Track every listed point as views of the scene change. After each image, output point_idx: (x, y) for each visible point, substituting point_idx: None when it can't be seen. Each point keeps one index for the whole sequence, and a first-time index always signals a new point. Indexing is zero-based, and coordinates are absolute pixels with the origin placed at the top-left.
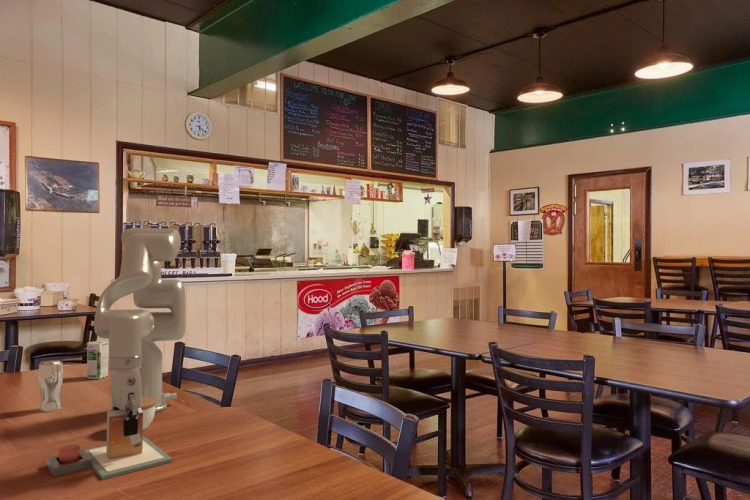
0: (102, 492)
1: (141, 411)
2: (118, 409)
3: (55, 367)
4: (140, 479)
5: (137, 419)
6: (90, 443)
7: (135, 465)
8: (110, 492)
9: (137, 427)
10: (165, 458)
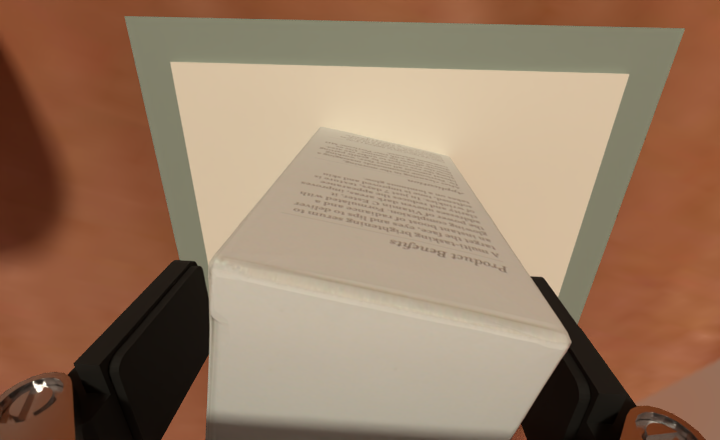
0: (668, 379)
1: (519, 347)
2: (120, 432)
3: None
4: (705, 252)
5: (611, 380)
6: (75, 271)
7: (576, 236)
8: (697, 364)
9: (564, 311)
10: (639, 67)
